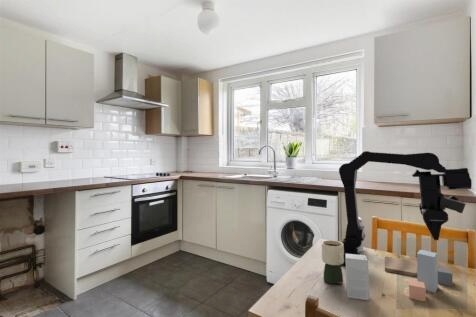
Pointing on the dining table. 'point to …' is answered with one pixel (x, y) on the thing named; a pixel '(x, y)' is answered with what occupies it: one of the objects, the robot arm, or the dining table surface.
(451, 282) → the charcoal block
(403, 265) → the walnut board
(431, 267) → the slate block
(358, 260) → the skincare box
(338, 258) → the character mug
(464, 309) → the dining table surface
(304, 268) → the dining table surface
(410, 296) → the terracotta block
